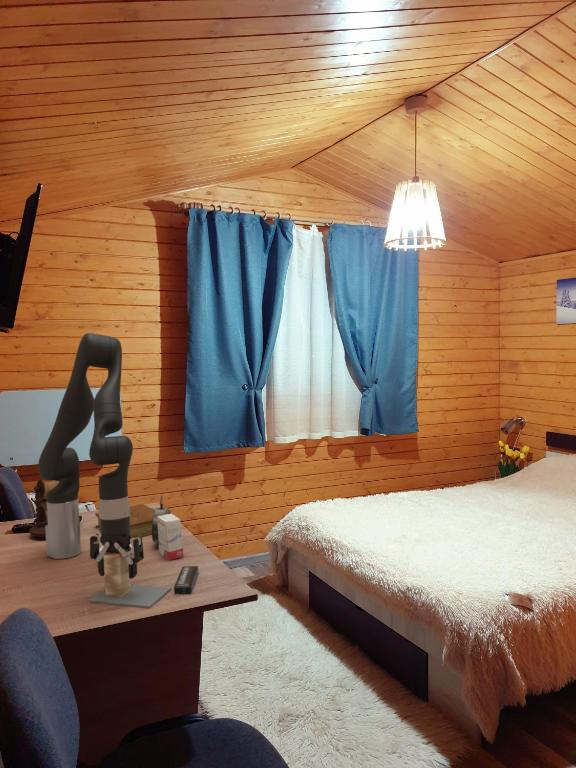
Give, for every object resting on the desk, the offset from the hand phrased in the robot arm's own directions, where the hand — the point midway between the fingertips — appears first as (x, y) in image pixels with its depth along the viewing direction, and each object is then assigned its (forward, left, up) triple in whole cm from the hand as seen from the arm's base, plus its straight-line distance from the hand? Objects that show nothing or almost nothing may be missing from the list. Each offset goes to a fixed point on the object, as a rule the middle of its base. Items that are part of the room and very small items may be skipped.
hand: (117, 576), depth 149 cm
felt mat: (+4, 0, -5) cm, 6 cm away
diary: (-27, +52, -6) cm, 58 cm away
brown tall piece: (-52, +41, -5) cm, 66 cm away
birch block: (0, 0, -4) cm, 4 cm away
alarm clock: (-7, +38, -5) cm, 39 cm away
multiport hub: (+14, +11, -5) cm, 18 cm away
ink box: (0, +29, -5) cm, 30 cm away
